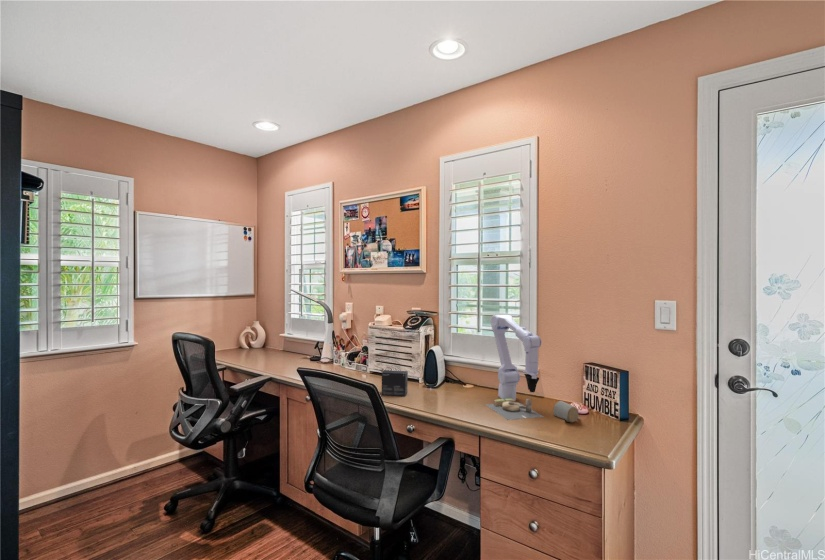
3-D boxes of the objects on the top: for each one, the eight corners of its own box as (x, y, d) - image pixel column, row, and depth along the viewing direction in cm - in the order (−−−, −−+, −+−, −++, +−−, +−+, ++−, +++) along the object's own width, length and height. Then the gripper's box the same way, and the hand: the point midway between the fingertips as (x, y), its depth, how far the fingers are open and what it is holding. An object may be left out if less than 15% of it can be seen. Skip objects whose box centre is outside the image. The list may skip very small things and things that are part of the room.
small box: (407, 393, 216) (408, 370, 216) (405, 396, 209) (406, 373, 209) (383, 391, 218) (384, 369, 218) (381, 395, 211) (381, 372, 211)
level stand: (484, 407, 192) (484, 399, 192) (518, 405, 197) (518, 396, 197) (507, 423, 171) (507, 413, 171) (544, 420, 176) (544, 410, 176)
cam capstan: (500, 409, 185) (500, 397, 185) (505, 404, 191) (505, 393, 192) (529, 414, 178) (529, 402, 178) (533, 409, 185) (533, 397, 185)
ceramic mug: (568, 424, 170) (569, 406, 170) (552, 419, 177) (553, 401, 177) (584, 421, 176) (584, 403, 176) (568, 415, 183) (568, 398, 183)
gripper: (520, 358, 194) (520, 386, 194) (525, 364, 180) (524, 394, 180) (535, 358, 193) (535, 387, 193) (541, 364, 179) (541, 395, 179)
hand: (531, 390), depth 186 cm, fingers open, 4 cm apart
